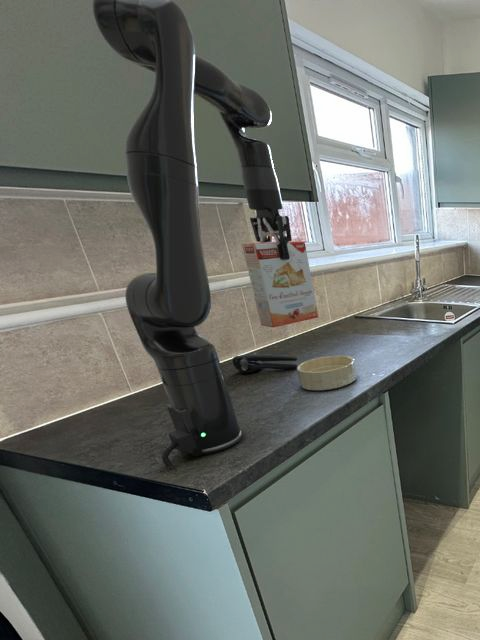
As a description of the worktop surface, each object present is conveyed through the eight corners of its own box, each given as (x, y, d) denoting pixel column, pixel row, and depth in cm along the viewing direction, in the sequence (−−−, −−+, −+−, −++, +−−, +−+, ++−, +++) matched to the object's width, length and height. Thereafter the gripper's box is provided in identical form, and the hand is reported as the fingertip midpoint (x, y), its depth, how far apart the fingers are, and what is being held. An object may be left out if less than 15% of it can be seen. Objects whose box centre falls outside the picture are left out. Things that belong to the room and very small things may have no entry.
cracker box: (274, 328, 107) (254, 243, 100) (260, 326, 110) (239, 243, 102) (320, 317, 119) (305, 240, 111) (306, 316, 121) (290, 240, 114)
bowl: (322, 396, 105) (318, 375, 103) (290, 386, 112) (286, 367, 110) (367, 378, 116) (364, 360, 114) (336, 370, 123) (332, 352, 121)
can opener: (231, 376, 121) (225, 358, 119) (241, 368, 127) (236, 351, 125) (295, 372, 123) (291, 354, 121) (302, 364, 129) (298, 347, 127)
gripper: (293, 187, 101) (307, 258, 108) (262, 191, 109) (276, 257, 115) (262, 185, 96) (279, 261, 102) (231, 189, 103) (248, 260, 109)
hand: (277, 259), depth 108 cm, fingers closed on cracker box, 6 cm apart
